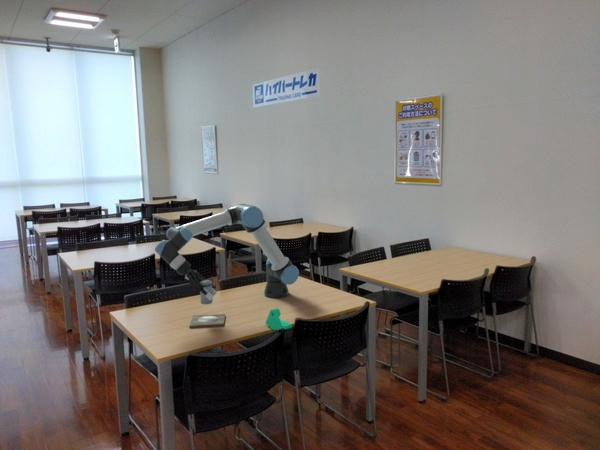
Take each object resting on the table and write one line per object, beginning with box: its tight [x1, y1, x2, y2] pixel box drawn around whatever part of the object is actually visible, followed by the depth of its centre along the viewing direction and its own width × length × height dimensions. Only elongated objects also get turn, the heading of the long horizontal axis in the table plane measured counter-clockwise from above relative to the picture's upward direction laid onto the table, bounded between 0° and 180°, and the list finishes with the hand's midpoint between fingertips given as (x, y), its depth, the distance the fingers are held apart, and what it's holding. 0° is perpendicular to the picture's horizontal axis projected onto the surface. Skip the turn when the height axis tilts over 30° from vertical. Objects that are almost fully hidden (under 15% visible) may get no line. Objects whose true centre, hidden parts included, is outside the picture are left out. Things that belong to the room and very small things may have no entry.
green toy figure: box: [265, 307, 293, 331], centre depth 228 cm, size 12×8×10 cm, turn 40°
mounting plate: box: [188, 313, 226, 329], centre depth 238 cm, size 15×17×1 cm
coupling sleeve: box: [199, 279, 213, 305], centre depth 236 cm, size 6×6×11 cm
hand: (213, 296), depth 236 cm, fingers closed on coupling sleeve, 6 cm apart
